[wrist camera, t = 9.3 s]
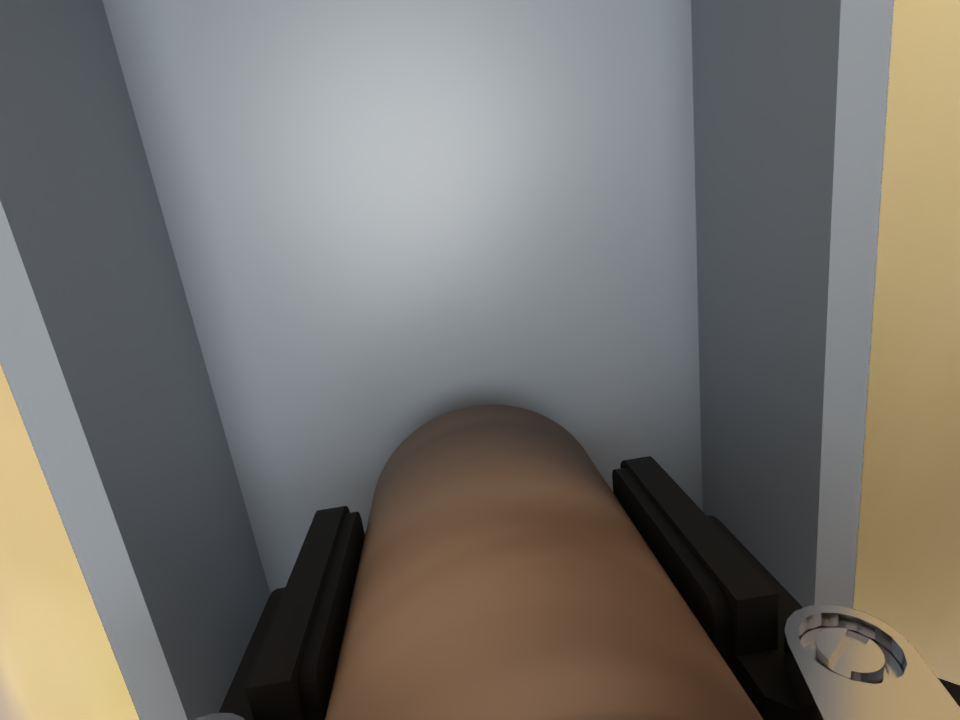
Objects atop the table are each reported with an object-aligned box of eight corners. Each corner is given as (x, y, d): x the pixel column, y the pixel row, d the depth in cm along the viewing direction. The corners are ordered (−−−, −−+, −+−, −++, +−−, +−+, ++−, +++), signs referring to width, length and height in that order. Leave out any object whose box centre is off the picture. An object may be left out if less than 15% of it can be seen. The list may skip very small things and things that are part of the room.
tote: (42, -111, 10) (-301, -402, 5) (710, -179, 11) (926, -493, 6) (260, 624, 15) (178, 816, 10) (719, 545, 16) (847, 688, 11)
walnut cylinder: (646, 487, 12) (945, 858, 5) (507, 644, 12) (596, 1156, 6) (466, 357, 10) (526, 604, 4) (325, 539, 11) (163, 1019, 4)
